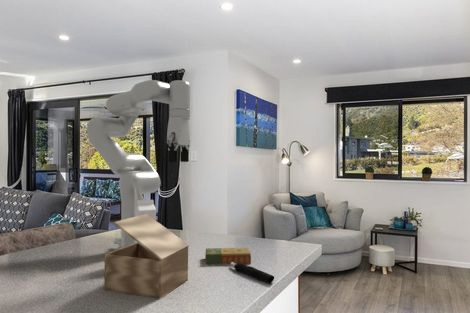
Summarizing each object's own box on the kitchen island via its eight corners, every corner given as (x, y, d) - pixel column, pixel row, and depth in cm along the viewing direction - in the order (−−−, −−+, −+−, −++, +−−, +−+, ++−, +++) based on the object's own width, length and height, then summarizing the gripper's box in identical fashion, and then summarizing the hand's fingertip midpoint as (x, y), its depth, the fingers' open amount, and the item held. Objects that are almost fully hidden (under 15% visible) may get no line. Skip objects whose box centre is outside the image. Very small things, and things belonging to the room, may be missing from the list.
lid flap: (113, 223, 103) (114, 222, 103) (145, 215, 118) (146, 213, 118) (161, 260, 98) (162, 258, 98) (188, 246, 113) (189, 245, 113)
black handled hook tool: (224, 268, 126) (225, 259, 126) (234, 266, 129) (234, 257, 129) (268, 285, 110) (268, 275, 110) (278, 283, 112) (278, 273, 112)
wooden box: (104, 290, 104) (104, 254, 104) (137, 273, 119) (137, 242, 119) (160, 298, 98) (161, 261, 98) (187, 280, 113) (188, 247, 113)
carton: (250, 265, 131) (251, 252, 131) (205, 265, 130) (205, 253, 130) (248, 258, 139) (248, 246, 139) (205, 259, 138) (205, 247, 138)
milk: (155, 263, 131) (156, 200, 131) (138, 265, 128) (139, 201, 128) (150, 258, 136) (151, 198, 136) (133, 260, 133) (134, 199, 133)
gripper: (180, 117, 145) (179, 161, 145) (159, 112, 128) (158, 162, 128) (198, 117, 143) (197, 161, 143) (178, 112, 126) (178, 162, 126)
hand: (179, 161), depth 136 cm, fingers open, 9 cm apart
